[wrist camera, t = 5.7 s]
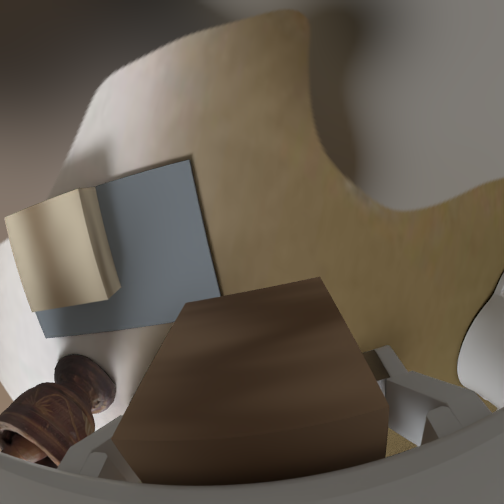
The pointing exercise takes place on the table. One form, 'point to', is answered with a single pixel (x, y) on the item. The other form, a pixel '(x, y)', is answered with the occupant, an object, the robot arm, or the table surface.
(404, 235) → the table surface
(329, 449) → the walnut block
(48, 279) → the base block
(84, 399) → the mortar and pestle
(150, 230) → the build mat
